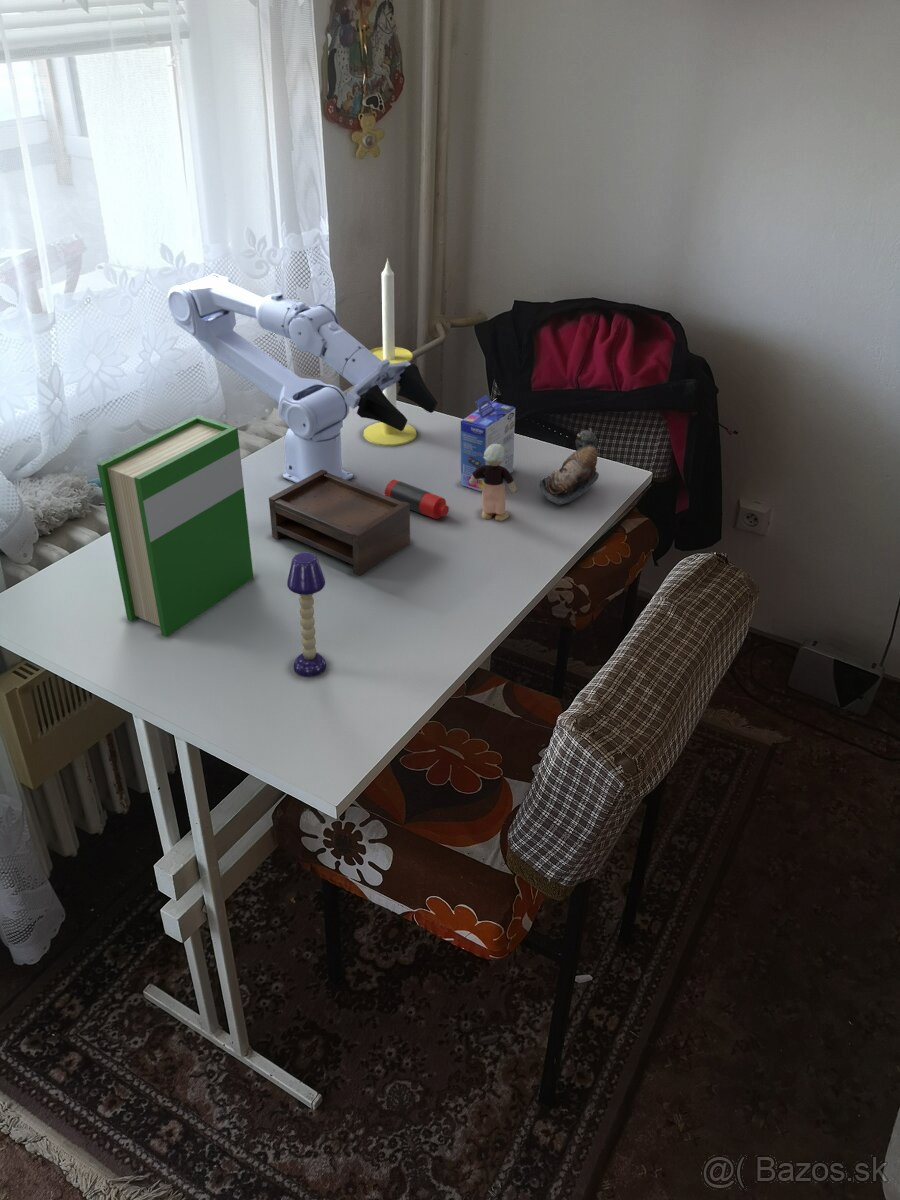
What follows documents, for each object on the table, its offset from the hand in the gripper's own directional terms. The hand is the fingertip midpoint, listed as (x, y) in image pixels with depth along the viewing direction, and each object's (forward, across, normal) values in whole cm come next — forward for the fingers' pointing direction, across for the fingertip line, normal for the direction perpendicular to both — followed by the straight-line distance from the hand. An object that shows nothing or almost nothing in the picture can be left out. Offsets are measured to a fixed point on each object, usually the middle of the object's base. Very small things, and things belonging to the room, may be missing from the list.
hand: (419, 416), depth 157 cm
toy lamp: (+18, -40, +10) cm, 45 cm away
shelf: (+2, -14, +18) cm, 23 cm away
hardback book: (-4, -39, +20) cm, 44 cm away
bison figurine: (+22, +20, +10) cm, 32 cm away
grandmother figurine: (+16, +7, +12) cm, 21 cm away
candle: (-13, +20, +26) cm, 35 cm away
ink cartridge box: (+9, +17, +16) cm, 25 cm away
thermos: (+6, +1, +17) cm, 18 cm away
